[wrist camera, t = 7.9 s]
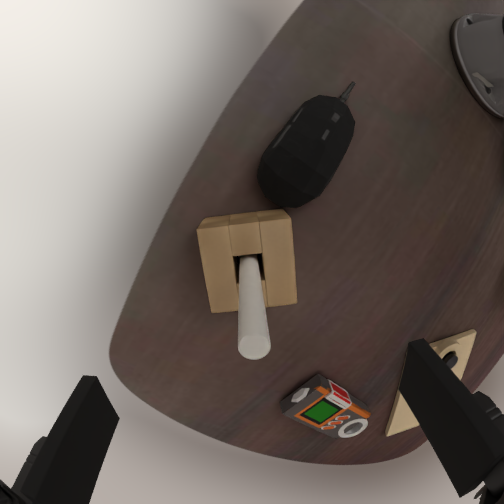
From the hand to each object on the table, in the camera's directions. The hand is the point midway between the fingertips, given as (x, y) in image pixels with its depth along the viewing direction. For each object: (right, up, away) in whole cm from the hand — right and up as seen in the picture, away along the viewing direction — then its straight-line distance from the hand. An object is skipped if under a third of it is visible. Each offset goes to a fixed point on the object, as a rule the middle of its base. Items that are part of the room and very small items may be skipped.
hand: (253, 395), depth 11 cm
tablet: (+28, -16, +26) cm, 42 cm away
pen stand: (0, +6, +18) cm, 19 cm away
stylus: (0, +6, +18) cm, 19 cm away
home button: (+28, -9, +22) cm, 36 cm away
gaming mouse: (+6, +17, +16) cm, 23 cm away
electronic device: (+11, -16, +26) cm, 32 cm away
